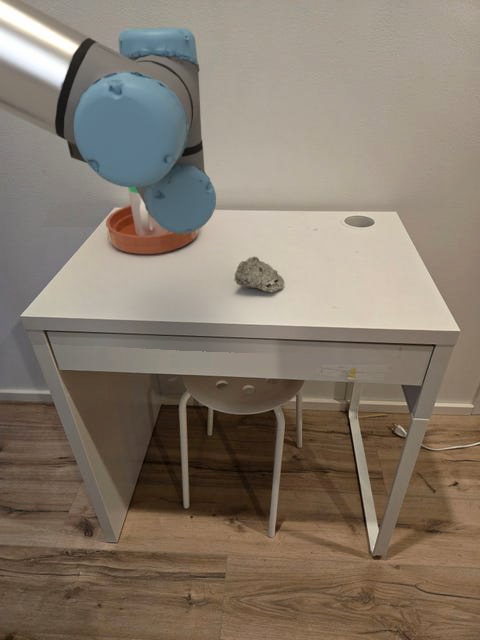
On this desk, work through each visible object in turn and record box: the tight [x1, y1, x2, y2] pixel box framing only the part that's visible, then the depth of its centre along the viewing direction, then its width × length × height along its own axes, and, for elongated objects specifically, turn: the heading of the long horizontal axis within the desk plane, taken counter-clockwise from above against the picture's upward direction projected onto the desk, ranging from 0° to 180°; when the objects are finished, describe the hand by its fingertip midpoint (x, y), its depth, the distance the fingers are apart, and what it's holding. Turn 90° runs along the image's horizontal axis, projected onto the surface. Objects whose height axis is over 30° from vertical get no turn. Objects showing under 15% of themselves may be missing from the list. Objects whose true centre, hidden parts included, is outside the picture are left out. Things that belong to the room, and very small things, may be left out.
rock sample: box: [233, 256, 285, 293], centre depth 83 cm, size 10×8×9 cm
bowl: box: [105, 204, 199, 255], centre depth 102 cm, size 21×21×4 cm
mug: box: [127, 187, 168, 236], centre depth 100 cm, size 12×8×10 cm, turn 6°
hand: (127, 130), depth 74 cm, fingers open, 13 cm apart
